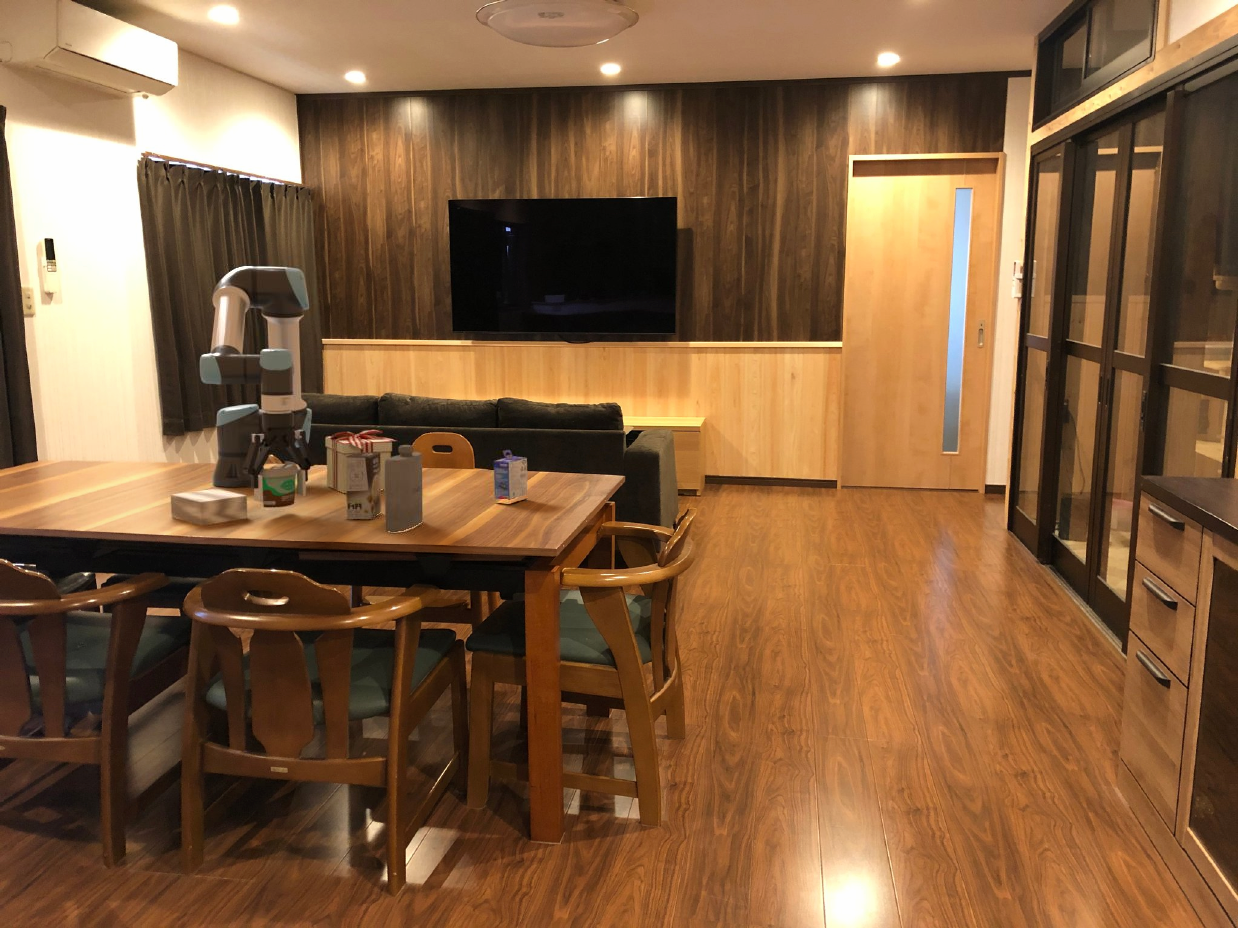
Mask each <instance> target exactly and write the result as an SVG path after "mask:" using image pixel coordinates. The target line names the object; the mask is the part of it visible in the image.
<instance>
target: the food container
mask: <svg viewBox="0 0 1238 928" xmlns="http://www.w3.org/2000/svg"><path fill="white" fill-rule="evenodd" d="M298 469H299V468H298V465H297V463H296V462H294V461H293V462H292V461H287V460H286V461H284V464H283V465H280V466H272V467H270V468H264V469H262V470H261V472H260V473H259V475H261V476H262V485H263V502H262V504H263V508H269V509H270V508H283V507H284V508H285V507H290V506H293V505H294V504H295V500H296V497H295V496H296V495H295V494H296V480H297V473H298Z"/></svg>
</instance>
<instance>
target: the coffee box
mask: <svg viewBox="0 0 1238 928" xmlns="http://www.w3.org/2000/svg"><path fill="white" fill-rule="evenodd" d="M346 490H347V494H346V520H353V519H371V520H373V519H374V518H375V517H374V516H376V515H377V514H379V513H380V512H381V513H382V497H381V496H382V494H381V493H382V491H381V467H380V453H374V452H364V453H363V452H357V453H354V454H352V455H349V456H346ZM381 513H380V514H381ZM380 514H379V515H380ZM377 516H378V515H377ZM377 516H376V517H377ZM373 517H374V518H373ZM372 518H373V519H372Z"/></svg>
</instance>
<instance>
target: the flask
mask: <svg viewBox="0 0 1238 928" xmlns="http://www.w3.org/2000/svg"><path fill="white" fill-rule="evenodd" d="M414 448H415V447H414V446H413V445H412V444H411V445H409V444H403V445H399V446H398V453H399V455H394V456H391V457H390V458H386V459H385V460H384V463H385V491H384V516H385V517H384V523H385V524H384V526H385V528H384V530H386V531H385V532H387V531H390V532H398V531H404V530H406V529H409V528H412V527H414V526H416V525H418V524H419V523H421V522H422V520H423V519H424V518H423V454H422V453H421V452H419V451H415V450H414ZM422 523H423V522H422Z"/></svg>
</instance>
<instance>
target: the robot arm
mask: <svg viewBox="0 0 1238 928" xmlns="http://www.w3.org/2000/svg"><path fill="white" fill-rule="evenodd" d="M212 305H213V306H214V308H215V310H214V318H213V319H214V321H213V327H212V328H213V329H212V336H211V337H212V339H211V346H210V353H206V354H201V356H200V358H199V375H200V379H201V382H203V384H209V385H210V384H211V385H212V384H213V385H260V387H261V389H260V390H261V394H260V395H261V399H260V400H261V401H260V402H261V409H260V407H259V405H258V404H256V403H255V404H254V403H253V404H242V405H235V406H228V407H224V408H221V409H220V410H218V411H217V414H216V424H215V426H216V433H217V434H216V436H217V461H216V464H215V467H214V471H213V474H212V485H213V486H217V487H225V488H226V487H227V488H238V487H239V488H242V487H243V488H244V487H251V489H253V498H254V501H256V502H259V503H263V485H262V476H261V475H259V473H260V472H261V470H262V469H265V467H264V466H265V464H266V463H267V461H268V459H269V457H270V455H271V454H272V453H273V452H274V451H275V450H280V449H283V450H284V449H285V450H287V452H288V453H289V454H290V456H291V457H292V458H293V460H294V463H295V464H296V465H297V467H299V468H298V473H297V474H296V489H297V490H296V491H297V495H299V496H303V497H304V496H307V491H306V490H307V488H306V483H307V482H308V480H309V471H310V470H311V467H314V466H315V460H314V457H313V454H312V451H311V450H310V446H309V440H310V435H311V434H310V433H311V428H312V427H311V425H312V416H313V413H312V412H313V411H312V409H310V408H308V407H307V406H308V405H307V402H306V401H305V400H304V399H302V385H301V384H302V381H301V352H300V350H301V349H300V321H301V319H302V318H303V317H304V316H305V311H307V310H309V308H310V303H309V297H308V289H307V283H306V278H305V274H304V272H303V271H302V270H301V269H300V268H295V267H287V266H253V265H251V266H249V265H248V266H247V265H246V266H240V267H237V268H235V269H233V270H231V271H230V272H227V274H225V275H224V276H223V277H222V278H221V279H220V280H219V282H217V284H216V286H215V287H214V290H213V294H212ZM250 308H251V309H252V308H254V309H261V315H262V317H263V318H264V319H266V321H267V335H268V336H267V339H268V340H267V341H268V348H265V349H261V350H260V354H243V349H244V337H245V335H244V334H245V322H246V313H247V311H248V310H249V309H250ZM297 448H299V450H300V452H299V450H298V449H297ZM260 449H261V450H260Z"/></svg>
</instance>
